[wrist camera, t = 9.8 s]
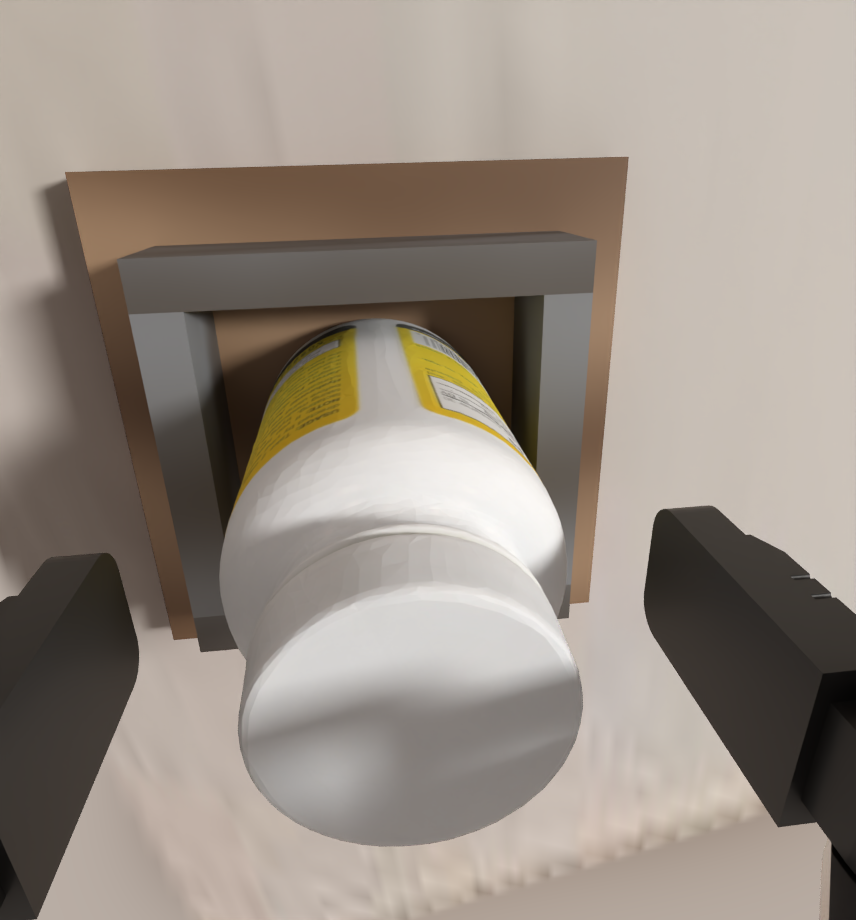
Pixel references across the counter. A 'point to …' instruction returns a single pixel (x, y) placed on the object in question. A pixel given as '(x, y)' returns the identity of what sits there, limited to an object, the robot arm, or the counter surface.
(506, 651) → the supplement bottle
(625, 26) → the counter surface
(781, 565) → the robot arm
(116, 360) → the socket base
